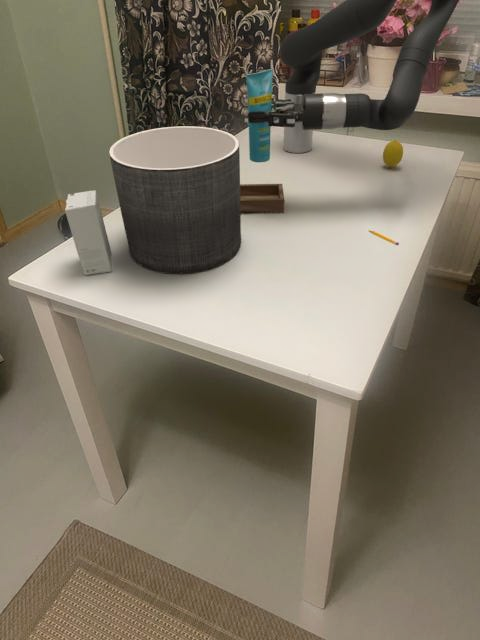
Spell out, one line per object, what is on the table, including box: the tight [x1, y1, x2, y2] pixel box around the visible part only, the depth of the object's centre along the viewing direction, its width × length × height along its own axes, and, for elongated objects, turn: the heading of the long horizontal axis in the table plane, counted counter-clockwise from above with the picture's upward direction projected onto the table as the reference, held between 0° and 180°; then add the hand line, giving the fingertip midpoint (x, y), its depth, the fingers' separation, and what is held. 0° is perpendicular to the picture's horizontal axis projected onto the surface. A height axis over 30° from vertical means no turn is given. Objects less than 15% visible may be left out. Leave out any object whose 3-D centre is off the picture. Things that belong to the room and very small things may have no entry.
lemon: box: [382, 139, 404, 169], centre depth 137 cm, size 6×6×8 cm
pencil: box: [368, 229, 400, 246], centre depth 107 cm, size 1×8×1 cm, turn 37°
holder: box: [240, 183, 285, 215], centre depth 120 cm, size 10×12×4 cm
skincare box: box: [64, 189, 113, 276], centre depth 96 cm, size 8×6×15 cm
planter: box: [108, 125, 242, 275], centre depth 99 cm, size 25×25×22 cm
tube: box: [245, 68, 274, 163], centre depth 108 cm, size 7×5×19 cm, turn 134°
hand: (248, 114), depth 108 cm, fingers closed on tube, 4 cm apart
